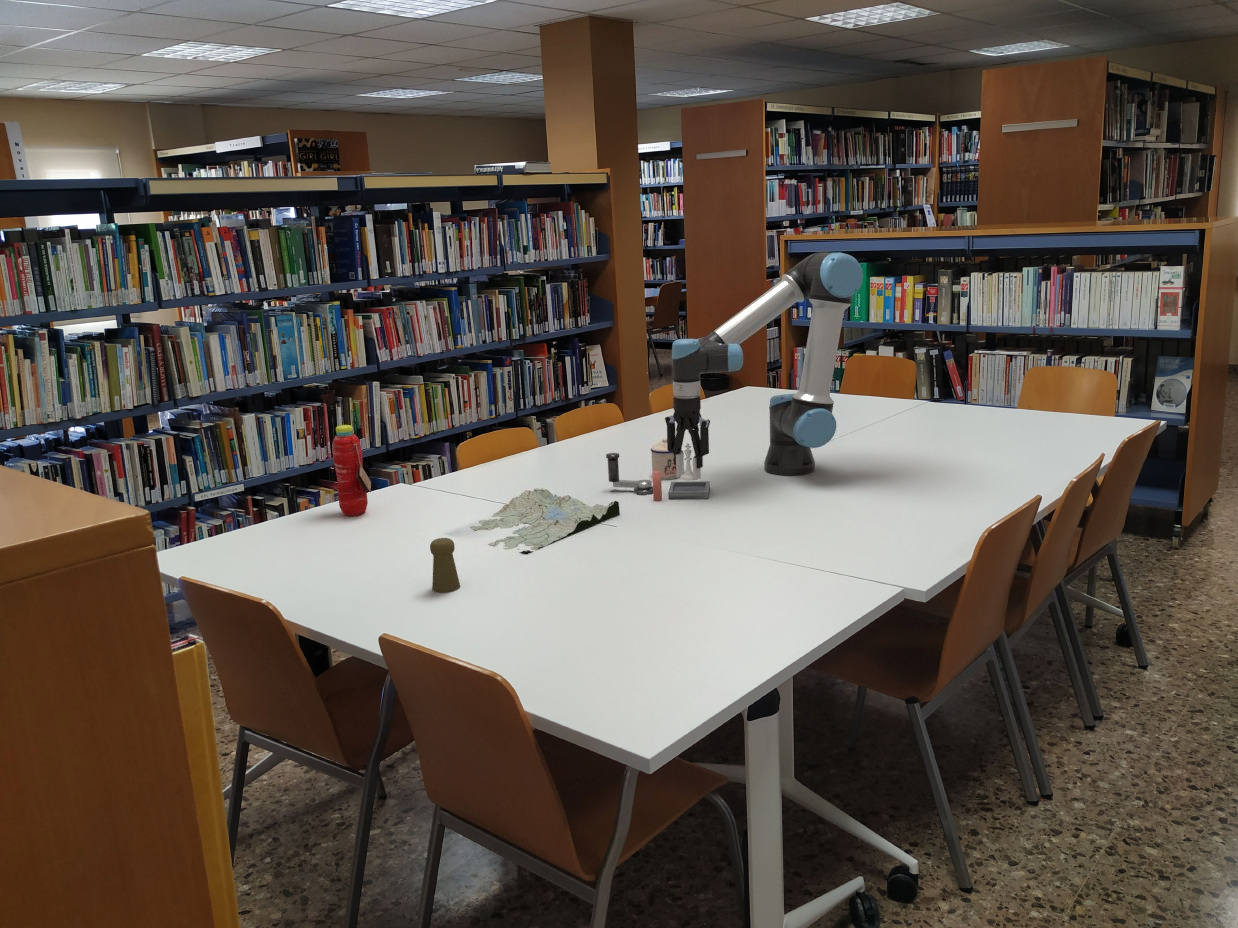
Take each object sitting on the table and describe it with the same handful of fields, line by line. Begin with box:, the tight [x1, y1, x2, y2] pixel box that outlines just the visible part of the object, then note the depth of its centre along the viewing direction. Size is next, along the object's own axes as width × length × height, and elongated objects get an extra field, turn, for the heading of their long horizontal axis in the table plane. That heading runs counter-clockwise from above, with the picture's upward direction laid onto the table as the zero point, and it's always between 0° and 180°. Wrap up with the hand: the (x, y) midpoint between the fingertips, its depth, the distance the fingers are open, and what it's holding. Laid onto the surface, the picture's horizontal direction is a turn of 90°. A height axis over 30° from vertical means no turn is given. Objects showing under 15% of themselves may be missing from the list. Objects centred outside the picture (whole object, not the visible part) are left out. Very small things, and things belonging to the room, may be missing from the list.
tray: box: [667, 480, 711, 500], centre depth 262 cm, size 11×11×2 cm
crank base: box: [633, 486, 653, 496], centre depth 266 cm, size 6×6×1 cm
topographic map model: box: [469, 487, 621, 555], centre depth 242 cm, size 36×29×5 cm
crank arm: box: [605, 452, 653, 489], centre depth 266 cm, size 13×4×9 cm, turn 73°
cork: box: [429, 537, 461, 594], centre depth 201 cm, size 6×6×11 cm
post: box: [651, 471, 663, 502], centre depth 257 cm, size 2×2×8 cm
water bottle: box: [331, 424, 372, 517], centre depth 255 cm, size 12×8×25 cm, turn 52°
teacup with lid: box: [650, 437, 685, 481], centre depth 281 cm, size 12×9×12 cm
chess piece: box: [679, 443, 694, 481], centre depth 260 cm, size 5×5×10 cm
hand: (688, 477), depth 261 cm, fingers closed on chess piece, 5 cm apart
